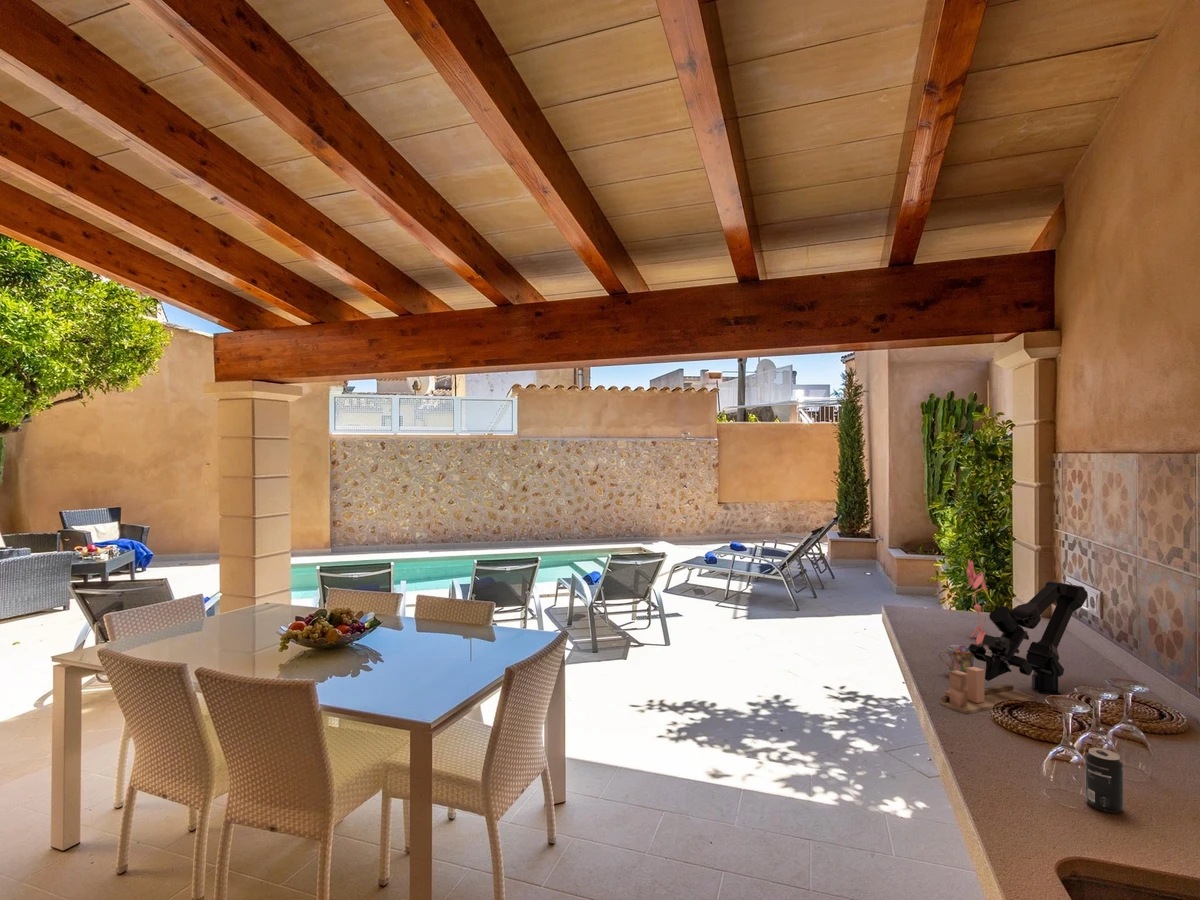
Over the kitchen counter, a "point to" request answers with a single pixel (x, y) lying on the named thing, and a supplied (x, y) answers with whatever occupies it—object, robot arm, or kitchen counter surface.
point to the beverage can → (1104, 780)
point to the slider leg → (975, 684)
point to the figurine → (978, 582)
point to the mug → (959, 658)
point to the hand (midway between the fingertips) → (986, 679)
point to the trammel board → (959, 702)
